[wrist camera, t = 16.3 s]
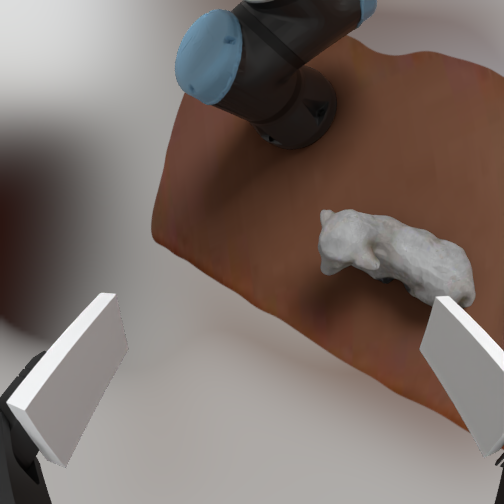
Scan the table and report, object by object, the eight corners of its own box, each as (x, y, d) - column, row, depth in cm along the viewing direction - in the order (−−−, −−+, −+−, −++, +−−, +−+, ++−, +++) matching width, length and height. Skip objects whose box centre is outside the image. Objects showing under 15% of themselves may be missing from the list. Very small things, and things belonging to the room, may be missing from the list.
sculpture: (345, 210, 43) (297, 198, 31) (484, 233, 31) (503, 229, 19) (335, 283, 45) (284, 300, 33) (468, 314, 32) (476, 350, 20)
